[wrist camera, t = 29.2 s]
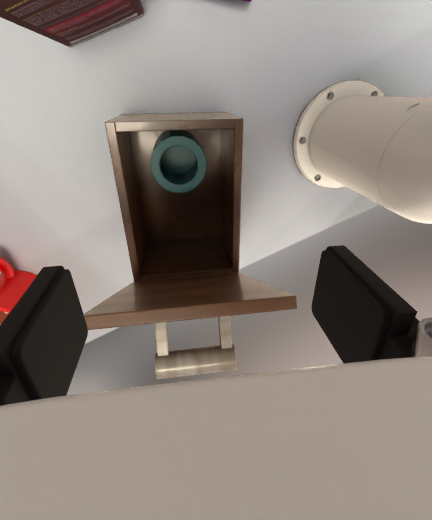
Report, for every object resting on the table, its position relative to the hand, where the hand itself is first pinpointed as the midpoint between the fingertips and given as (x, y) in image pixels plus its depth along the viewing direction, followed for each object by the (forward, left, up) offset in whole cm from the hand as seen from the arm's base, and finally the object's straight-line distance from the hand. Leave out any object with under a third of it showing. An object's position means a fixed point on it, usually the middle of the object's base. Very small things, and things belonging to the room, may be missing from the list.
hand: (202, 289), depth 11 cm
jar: (0, 0, -29) cm, 29 cm away
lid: (0, +8, -12) cm, 14 cm away
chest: (0, +4, -29) cm, 30 cm away
